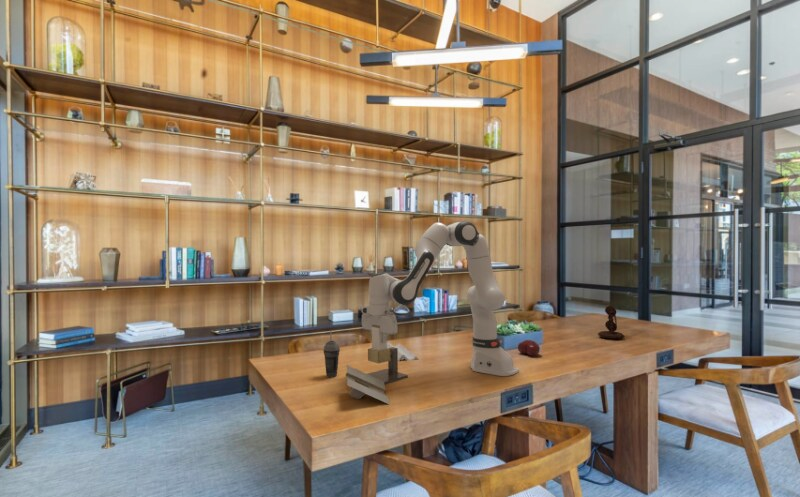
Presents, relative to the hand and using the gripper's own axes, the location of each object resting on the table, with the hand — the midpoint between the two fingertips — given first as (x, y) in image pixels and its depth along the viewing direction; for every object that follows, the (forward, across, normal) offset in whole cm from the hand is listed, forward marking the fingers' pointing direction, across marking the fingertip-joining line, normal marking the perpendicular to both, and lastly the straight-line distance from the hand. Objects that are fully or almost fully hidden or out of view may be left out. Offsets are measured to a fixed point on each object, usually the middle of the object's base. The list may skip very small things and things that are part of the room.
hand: (379, 341), depth 173 cm
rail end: (+6, 0, 0) cm, 6 cm away
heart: (+17, -25, -84) cm, 90 cm away
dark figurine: (+17, -40, -159) cm, 165 cm away
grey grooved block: (+16, -14, +18) cm, 28 cm away
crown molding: (+17, +27, -37) cm, 49 cm away
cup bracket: (+16, 0, -2) cm, 16 cm away
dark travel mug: (+16, +18, +13) cm, 27 cm away
